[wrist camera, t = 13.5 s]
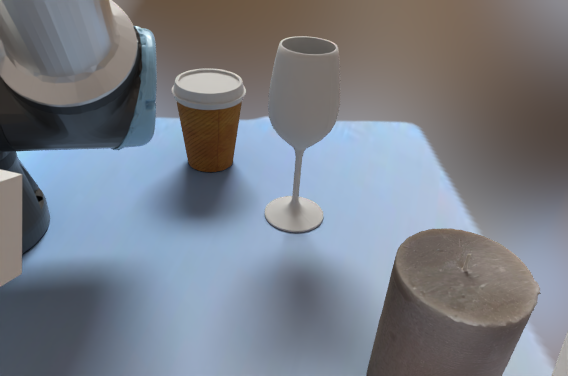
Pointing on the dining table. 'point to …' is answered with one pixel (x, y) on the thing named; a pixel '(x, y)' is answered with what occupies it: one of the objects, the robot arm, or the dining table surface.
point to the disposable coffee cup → (209, 116)
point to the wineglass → (302, 117)
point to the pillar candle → (452, 307)
